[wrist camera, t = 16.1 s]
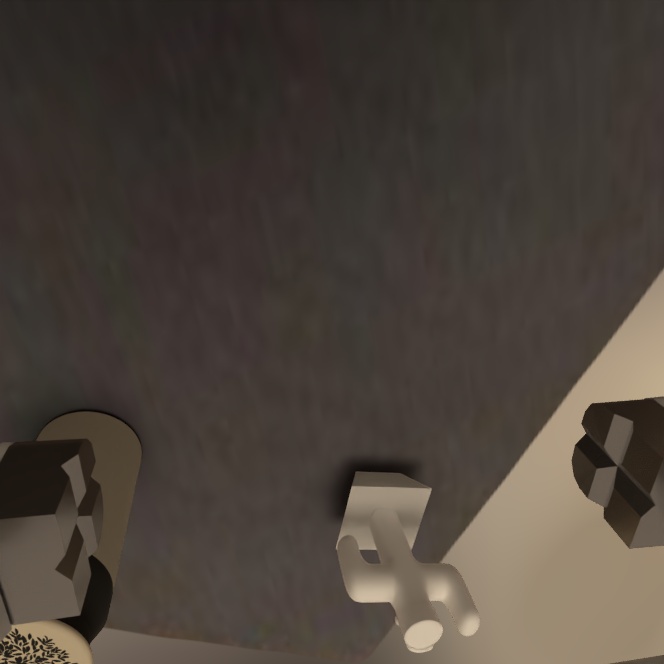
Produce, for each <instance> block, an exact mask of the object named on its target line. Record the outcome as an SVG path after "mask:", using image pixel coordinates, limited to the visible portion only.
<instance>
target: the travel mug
mask: <svg viewBox="0 0 664 664" xmlns="http://www.w3.org/2000/svg"><path fill="white" fill-rule="evenodd" d="M86 438H87V439H88V440H89V441H90V442H91V443H92V446H93V451H94V455H95V459H96V462H95V465H94V469H93V472H92V475H91V477H92V478H93V479H94V480H95V481H97V482H98V483H99V484H100V485H101V491H102V496H103V511H104V514H103V525H102V534H101V538H100V542H99V546H98V549H97V550H96V551H95V552H94V553H93V554H92V555H91V556H90V557H88V561H89V566H90V570H91V577H90V581H89V584H88V588H87V592H86V595H85V599H84V603H83V607H82V610H81V614H80V615H79V616H73V617H66V618H59V619H52V620H46V621H39V622H32V623H25V624H19V625H12V626H11V627H12V630H11V631H10V632H9V633H8V634H7V635H6V637H5V638H4V639H3V640H2V641H1V642H0V664H93V655H92V650H91V648H90V643H91V641H92V640H93V639H94V638H95V637H96V636H97V634H98V633H99V632H100V631H101V630H102V628H103V627H104V625H105V623H106V620H107V617H108V613H109V608H110V603H111V599H112V594H113V589H114V584H115V580H116V575H117V570H118V566H119V561H120V556H121V552H122V547H123V542H124V538H125V533H126V528H127V524H128V519H129V514H130V510H131V505H132V500H133V496H134V491H135V486H136V482H137V477H138V472H139V468H140V463H141V458H142V449H141V445H140V442H139V440H138V438H137V436H136V434H135V433H134V432H133V431H132V430H131V428H129V427H128V426H127V425H126V424H125V423H123V422H122V421H120V420H118V419H116V418H114V417H112V416H109V415H106V414H102V413H97V412H75V413H70V414H66V415H63V416H61V417H59V418H57V419H55V420H53V421H52V422H50V423H49V424H48V425H47V426H46V427H45V428H44V429H43V430H42V431H41V433H40V434H39V436H38V438H37V440H36V441H46V440H66V439H86Z"/></svg>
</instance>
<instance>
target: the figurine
mask: <svg viewBox="0 0 664 664" xmlns="http://www.w3.org/2000/svg"><path fill="white" fill-rule="evenodd" d="M431 490H432V488H430V487H428V486H426V485H424V484H422V483H420V482H418V481H416V480H414V479H412V478H410V477H408V476H406V475H403V474H401V473H386V472H357V471H356V472H355V476H354V480H353V483H352V487H351V491H350V495H349V499H348V503H347V507H346V511H345V515H344V519H343V523H342V526H341V530H340V534H339V538H338V542H337V546H336V550H337V553H338V558H339V562H340V567H341V571H342V576H343V580H344V584H345V587H346V590H347V592H348V595H349V596H350V597H351V598H352V599H353V600H354V601H357V602H390V603H391V604H392V606H393V607H394V609H395V611H396V618H395V622H396V624H397V625H399V627H400V630H401V632H402V635H403V638H404V640H405V643H406V646H407V648H408V649H409V650H410V651H412V652H417V653H421V652H426V651H429V650H431V649H432V648H433V644H434V643H435V642H437V641H438V640H439V638H440V637H441V635H442V632H443V628H442V625H441V623H440V621H439V618H438V616H437V614H436V612H435V610H434V608H433V607H432V605H431V602H430V601H441V602H443V603H444V604H445V605H446V607H447V608H448V610H449V611H450V613H451V615H452V617H453V620H454V622H455V625H456V627H457V629H458V631H459V632H460V633H461V634H463V635H464V636H470V635H472V634H474V633H475V632H476V631H477V629H478V628H479V624H480V617H479V614H478V611H477V609H476V606H475V605H474V602H473V600H472V598H471V595H470V593H469V591H468V589H467V587H466V584H465V582H464V580H463V578H462V576H461V575H460V573H459V572H458V570H457V569H456V568H455V567H453V566H452V565H450V564H442V563H439V564H423V563H420V562H418V561H417V560H415V558H414V557H413V555H412V552H411V550H412V547H413V544H414V541H415V538H416V535H417V532H418V529H419V526H420V523H421V520H422V517H423V514H424V511H425V508H426V505H427V502H428V499H429V496H430V493H431ZM359 550H377V552H378V556H379V559H380V562H381V564H369V563H367V562H366V561H365V560H364V559H363V558H362V556H361V554H360V551H359Z"/></svg>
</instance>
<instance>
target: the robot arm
mask: <svg viewBox="0 0 664 664" xmlns="http://www.w3.org/2000/svg"><path fill="white" fill-rule="evenodd" d="M582 426H583V428H584V429H585V432H586V434H585V435H584V436H583V437H582V438H581V439H580V440H579V441H578V443H577V444H576V445H575V448H574V453H573V457H572V466H573V473H574V477H575V479H576V482H577V484H578V486H579V488H580V489H581V490H582V492H583V493H584V494H585V495H586V497H587V498H588V499H590V500H592V501H594V502H596V503H598V504H599V505H601V506H603V507H604V519H605V520H606V521H607V522H608V523H609V525H610V526H611V527H612V528H613V530H614V531H615V532H616V533H617V534H618V536H619V537H620V538H621V539H622V540H623V542H625V544H626V545H627V546H628V548H629V549H631V548H642V547H653V546H664V397H655V398H645V399H642V400H630V401H617V402H605V403H592V404H591V405H590V406H589V407H588V409H587V410H586V411H585V414H584V417H583V420H582ZM95 462H96V459H95V455H94V451H93V446H92V443H91V442H90V441H89V440H88V439H87V438H86V439H66V440H46V441H26V442H15V443H12V442H8V443H0V642H1V641H2V640H3V639H4V638H5V637H6V635H7V634H8V633H9V632H10V631H11V630H12V627H11V626H12V625H19V624H25V623H32V622H39V621H46V620H52V619H59V618H66V617H73V616H79V615H80V614H81V610H82V607H83V603H84V599H85V595H86V592H87V588H88V584H89V581H90V577H91V570H90V566H89V561H88V557H90V556H91V555H92V554H93V553H94V552H95V551H96V550H97V549H98V546H99V542H100V538H101V534H102V525H103V514H104V511H103V496H102V491H101V485H100V484H99V483H98V482H97V481H95V480H94V479H93V478H92V477H91V475H92V472H93V469H94V465H95ZM611 664H664V655H661V656H655V657H649V658H643V659H636V660H630V661H624V662H618V663H611Z"/></svg>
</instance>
